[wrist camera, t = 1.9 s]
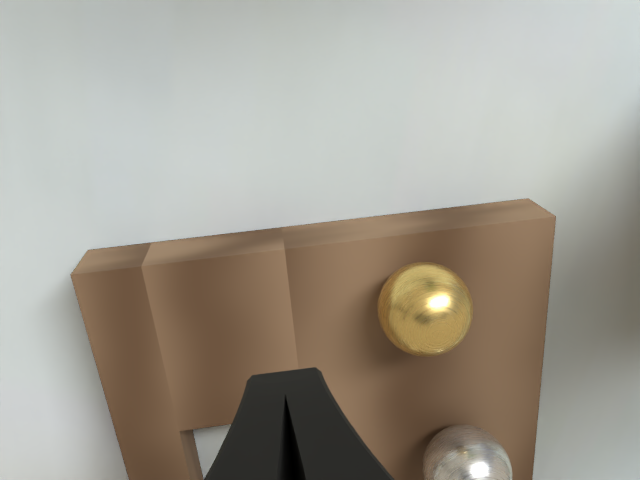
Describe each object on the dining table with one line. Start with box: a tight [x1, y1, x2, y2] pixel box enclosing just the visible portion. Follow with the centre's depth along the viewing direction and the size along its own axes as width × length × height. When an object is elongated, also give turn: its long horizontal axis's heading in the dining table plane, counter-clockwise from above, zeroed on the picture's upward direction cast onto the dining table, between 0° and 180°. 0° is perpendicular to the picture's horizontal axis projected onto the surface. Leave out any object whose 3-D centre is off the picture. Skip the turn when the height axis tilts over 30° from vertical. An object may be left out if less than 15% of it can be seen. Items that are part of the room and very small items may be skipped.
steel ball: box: [422, 425, 512, 480], centre depth 20 cm, size 3×3×3 cm
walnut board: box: [71, 199, 556, 480], centre depth 22 cm, size 16×18×2 cm
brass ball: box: [377, 262, 473, 357], centre depth 18 cm, size 3×3×3 cm
